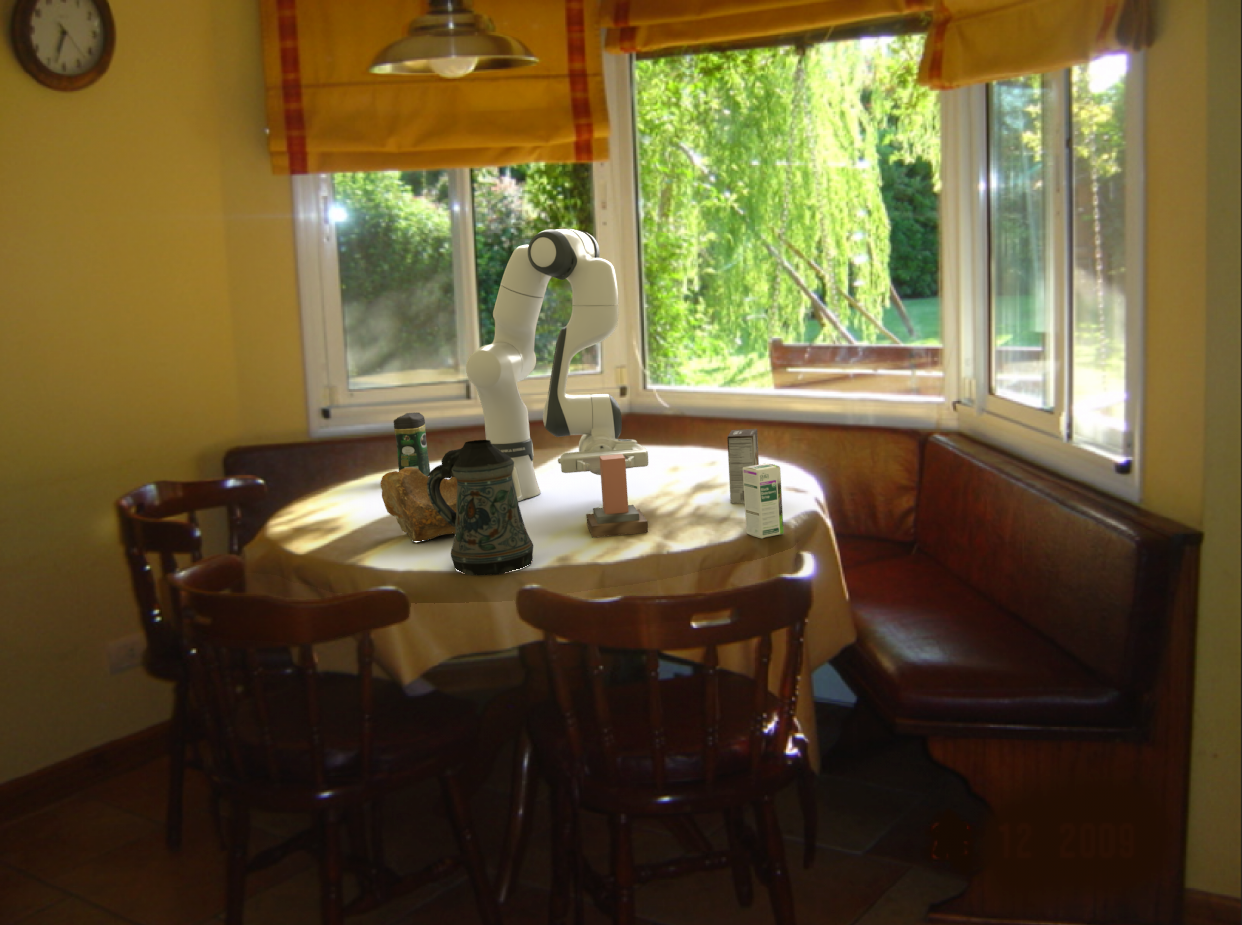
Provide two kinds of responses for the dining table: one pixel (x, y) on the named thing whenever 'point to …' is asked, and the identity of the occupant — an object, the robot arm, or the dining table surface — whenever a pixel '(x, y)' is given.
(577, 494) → the dining table surface
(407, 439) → the coffee jar
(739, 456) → the coffee box
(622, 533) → the podium
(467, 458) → the beer stein
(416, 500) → the rough brown rock
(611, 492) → the carton
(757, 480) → the syrup box
